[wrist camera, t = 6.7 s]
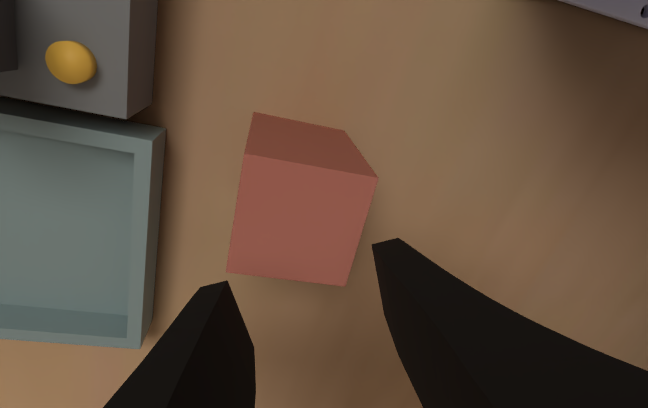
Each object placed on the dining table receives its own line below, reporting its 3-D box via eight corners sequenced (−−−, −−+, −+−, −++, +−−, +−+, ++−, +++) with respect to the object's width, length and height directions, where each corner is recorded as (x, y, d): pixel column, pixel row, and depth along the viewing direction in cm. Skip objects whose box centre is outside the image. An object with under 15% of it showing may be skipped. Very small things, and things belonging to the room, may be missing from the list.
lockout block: (344, 130, 17) (378, 178, 11) (323, 211, 18) (345, 286, 13) (253, 111, 16) (244, 153, 11) (239, 197, 17) (225, 272, 12)
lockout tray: (166, 128, 16) (152, 140, 14) (152, 319, 20) (140, 349, 18) (-132, 71, 14) (-194, 77, 12) (-82, 298, 18) (-122, 329, 16)
